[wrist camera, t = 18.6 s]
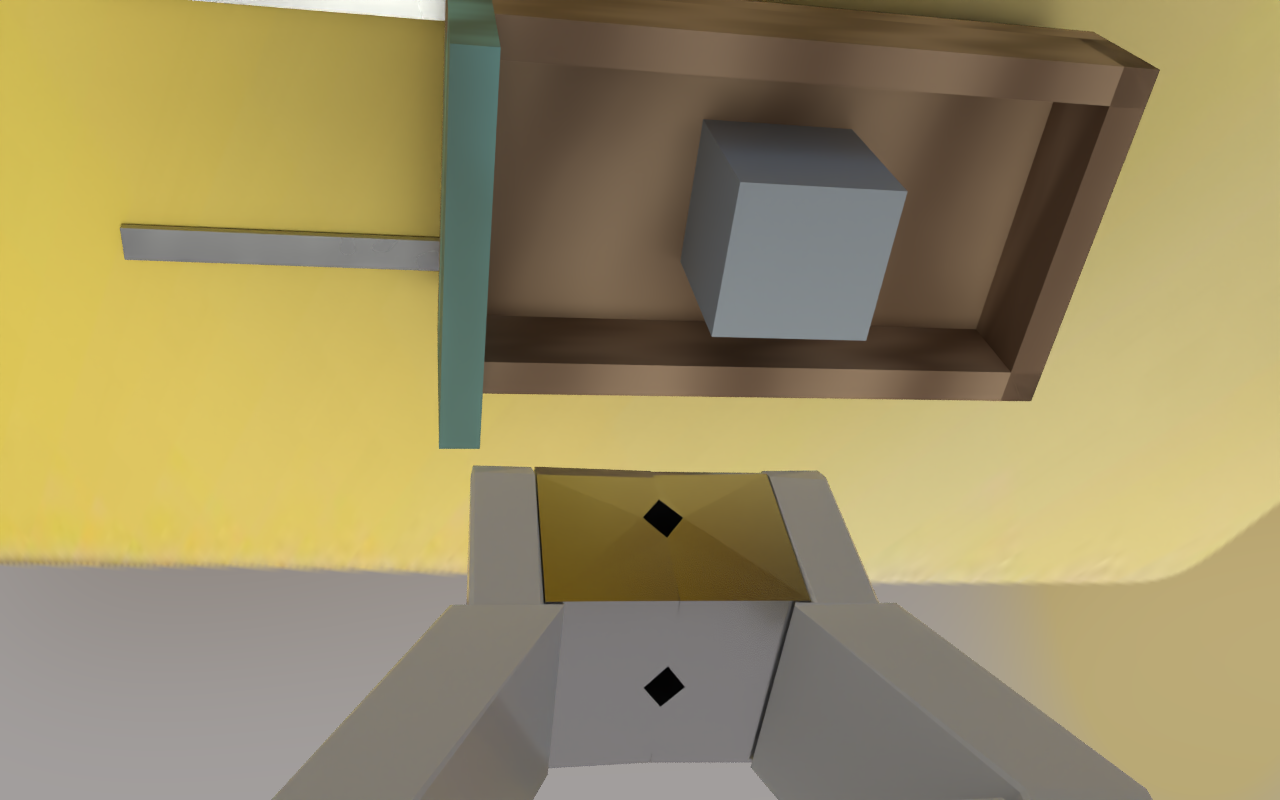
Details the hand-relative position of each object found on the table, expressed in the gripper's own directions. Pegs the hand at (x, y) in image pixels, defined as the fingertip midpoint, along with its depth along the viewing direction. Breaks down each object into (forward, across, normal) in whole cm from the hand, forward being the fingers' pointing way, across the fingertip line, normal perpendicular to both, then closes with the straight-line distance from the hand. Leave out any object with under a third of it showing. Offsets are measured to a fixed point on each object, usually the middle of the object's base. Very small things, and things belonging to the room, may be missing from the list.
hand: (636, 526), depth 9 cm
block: (+26, -8, +8) cm, 28 cm away
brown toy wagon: (+30, -8, +8) cm, 32 cm away
